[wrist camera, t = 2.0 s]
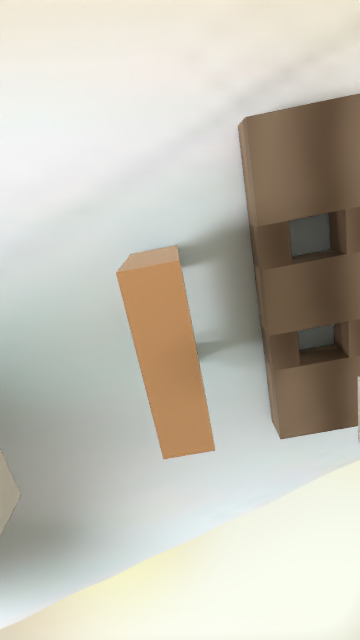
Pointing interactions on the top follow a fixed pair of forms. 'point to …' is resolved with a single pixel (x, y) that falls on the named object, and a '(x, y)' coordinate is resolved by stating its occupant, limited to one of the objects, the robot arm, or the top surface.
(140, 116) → the top surface
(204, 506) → the top surface
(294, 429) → the rail
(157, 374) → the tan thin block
